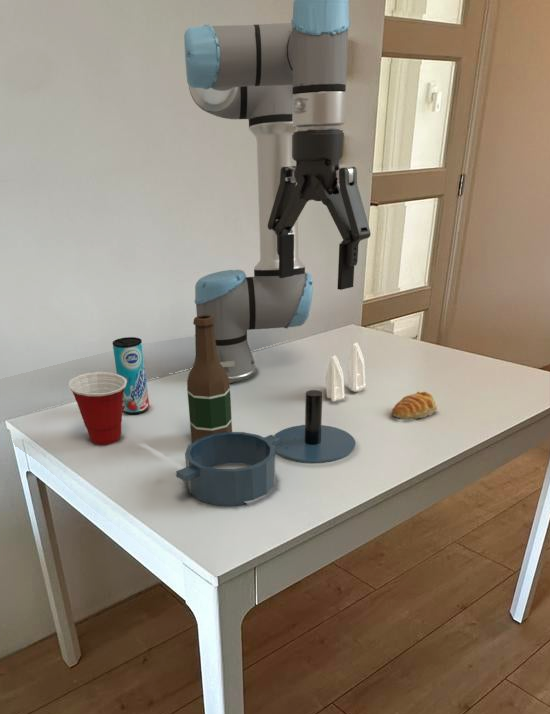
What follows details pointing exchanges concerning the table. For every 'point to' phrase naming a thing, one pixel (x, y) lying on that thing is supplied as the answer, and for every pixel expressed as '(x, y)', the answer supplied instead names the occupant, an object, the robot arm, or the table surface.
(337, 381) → the shaker set
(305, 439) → the lid
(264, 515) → the table surface
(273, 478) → the pot
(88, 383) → the plastic cup
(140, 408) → the beverage can
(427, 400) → the pastry
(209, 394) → the beer bottle
